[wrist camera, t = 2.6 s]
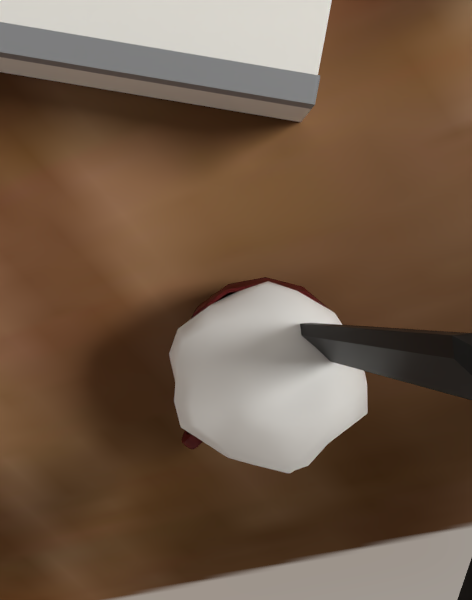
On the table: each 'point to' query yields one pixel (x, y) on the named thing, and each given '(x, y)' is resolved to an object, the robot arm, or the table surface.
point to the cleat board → (174, 49)
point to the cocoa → (293, 372)
